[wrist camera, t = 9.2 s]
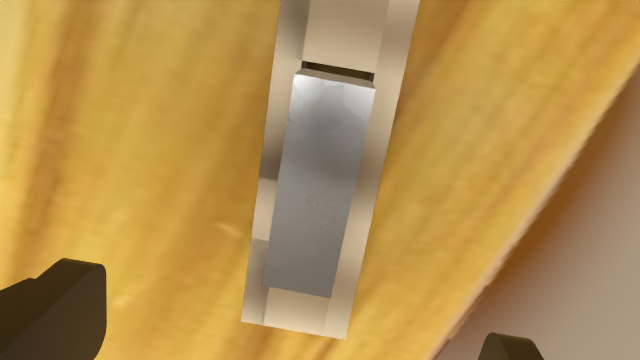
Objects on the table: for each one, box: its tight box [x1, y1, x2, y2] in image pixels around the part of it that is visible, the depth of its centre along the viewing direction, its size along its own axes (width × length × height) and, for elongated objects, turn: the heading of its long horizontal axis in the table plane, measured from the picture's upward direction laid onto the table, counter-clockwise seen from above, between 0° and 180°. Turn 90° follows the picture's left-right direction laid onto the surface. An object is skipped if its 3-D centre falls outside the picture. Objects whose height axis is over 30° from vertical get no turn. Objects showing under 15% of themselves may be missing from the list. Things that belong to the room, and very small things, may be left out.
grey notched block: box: [262, 68, 376, 298], centre depth 21 cm, size 9×3×8 cm, turn 170°
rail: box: [241, 0, 420, 340], centre depth 23 cm, size 20×6×4 cm, turn 171°
